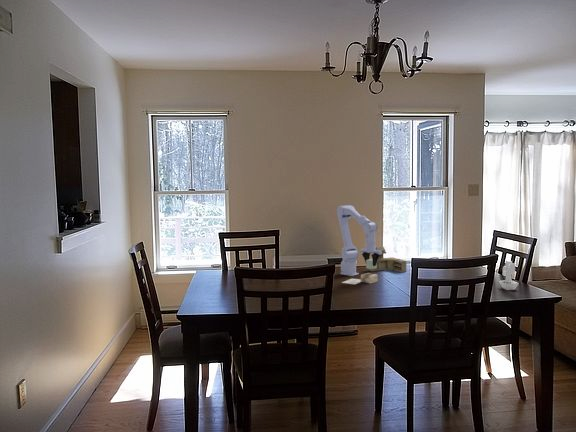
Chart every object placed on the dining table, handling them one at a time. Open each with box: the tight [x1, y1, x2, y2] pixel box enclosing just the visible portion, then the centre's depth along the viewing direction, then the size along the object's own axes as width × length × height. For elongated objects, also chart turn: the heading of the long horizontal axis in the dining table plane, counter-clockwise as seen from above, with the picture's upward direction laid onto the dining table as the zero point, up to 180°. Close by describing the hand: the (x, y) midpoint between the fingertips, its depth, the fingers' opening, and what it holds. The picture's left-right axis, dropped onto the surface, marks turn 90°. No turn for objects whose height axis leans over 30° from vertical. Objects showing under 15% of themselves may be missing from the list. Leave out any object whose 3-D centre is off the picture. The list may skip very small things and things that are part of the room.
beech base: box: [360, 272, 379, 284], centre depth 265 cm, size 7×7×4 cm
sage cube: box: [365, 258, 377, 270], centre depth 269 cm, size 4×4×5 cm
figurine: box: [498, 260, 519, 291], centre depth 239 cm, size 7×9×15 cm
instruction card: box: [341, 278, 362, 285], centre depth 267 cm, size 9×12×1 cm
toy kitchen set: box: [368, 246, 407, 273], centre depth 293 cm, size 18×17×15 cm
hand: (371, 265), depth 268 cm, fingers closed on sage cube, 4 cm apart
